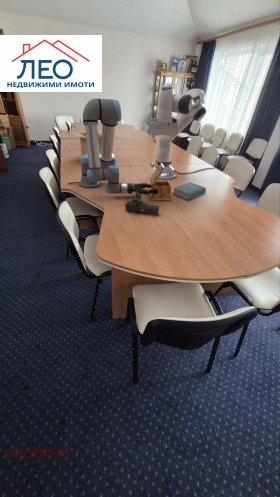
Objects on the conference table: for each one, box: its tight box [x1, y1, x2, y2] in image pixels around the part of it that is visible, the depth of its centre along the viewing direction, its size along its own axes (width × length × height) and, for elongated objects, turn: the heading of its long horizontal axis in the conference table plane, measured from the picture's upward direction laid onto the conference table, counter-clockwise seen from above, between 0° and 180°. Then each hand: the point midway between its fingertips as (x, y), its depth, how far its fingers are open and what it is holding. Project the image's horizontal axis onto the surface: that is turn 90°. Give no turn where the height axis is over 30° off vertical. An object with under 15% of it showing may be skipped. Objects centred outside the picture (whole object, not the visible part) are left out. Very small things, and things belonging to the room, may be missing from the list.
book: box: [172, 181, 207, 201], centre depth 178 cm, size 23×16×5 cm
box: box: [70, 130, 102, 156], centre depth 229 cm, size 44×36×27 cm
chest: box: [149, 180, 172, 201], centre depth 166 cm, size 14×10×11 cm
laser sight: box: [124, 194, 160, 215], centre depth 146 cm, size 10×22×10 cm, turn 78°
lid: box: [149, 161, 164, 186], centre depth 157 cm, size 15×10×9 cm
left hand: (156, 188), depth 165 cm, fingers closed on chest, 10 cm apart
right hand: (161, 142), depth 146 cm, fingers open, 8 cm apart
